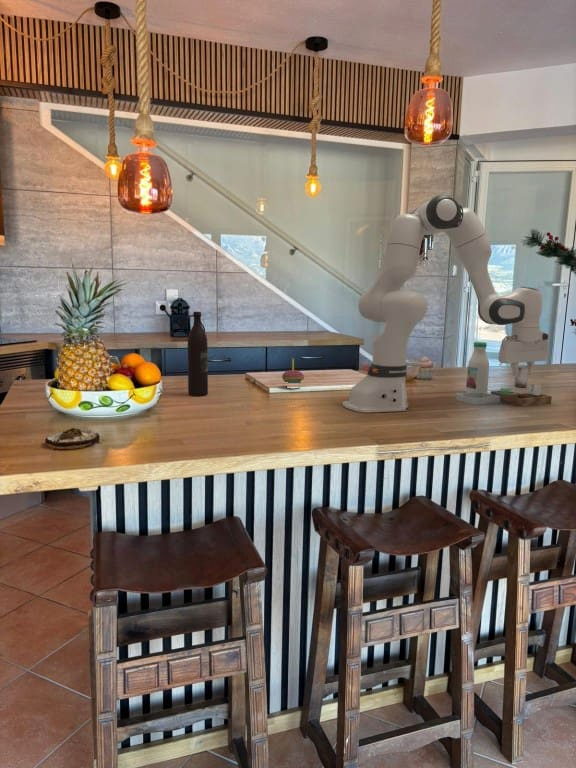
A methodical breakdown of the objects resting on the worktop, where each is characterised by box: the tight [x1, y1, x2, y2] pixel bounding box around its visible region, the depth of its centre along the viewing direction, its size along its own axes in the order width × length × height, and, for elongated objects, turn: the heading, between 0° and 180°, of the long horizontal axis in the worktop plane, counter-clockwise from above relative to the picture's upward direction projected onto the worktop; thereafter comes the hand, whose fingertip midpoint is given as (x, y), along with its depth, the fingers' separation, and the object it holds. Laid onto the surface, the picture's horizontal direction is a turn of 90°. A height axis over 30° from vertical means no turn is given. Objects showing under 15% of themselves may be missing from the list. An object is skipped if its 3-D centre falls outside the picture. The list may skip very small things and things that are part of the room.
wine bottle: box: [187, 311, 209, 397], centre depth 203 cm, size 7×7×30 cm
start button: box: [500, 387, 512, 394], centre depth 204 cm, size 3×3×3 cm
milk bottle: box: [465, 341, 490, 393], centre depth 213 cm, size 8×8×20 cm
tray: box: [455, 392, 501, 406], centre depth 200 cm, size 12×9×2 cm
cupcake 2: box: [417, 355, 436, 381], centre depth 249 cm, size 9×9×10 cm
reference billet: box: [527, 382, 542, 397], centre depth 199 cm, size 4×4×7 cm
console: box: [490, 389, 521, 402], centre depth 205 cm, size 7×7×3 cm
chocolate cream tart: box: [44, 427, 106, 451], centre depth 141 cm, size 15×15×4 cm
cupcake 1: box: [281, 358, 305, 384], centre depth 221 cm, size 9×8×12 cm
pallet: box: [501, 392, 553, 408], centre depth 198 cm, size 15×8×3 cm, turn 116°
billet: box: [513, 365, 529, 389], centre depth 196 cm, size 4×4×7 cm
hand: (521, 375), depth 195 cm, fingers closed on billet, 4 cm apart
